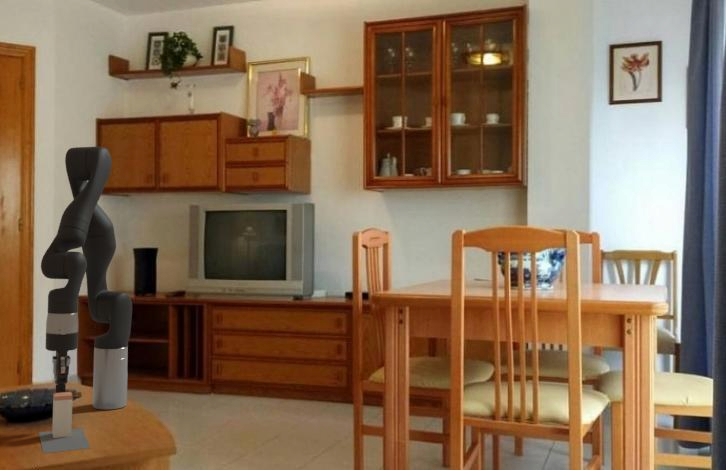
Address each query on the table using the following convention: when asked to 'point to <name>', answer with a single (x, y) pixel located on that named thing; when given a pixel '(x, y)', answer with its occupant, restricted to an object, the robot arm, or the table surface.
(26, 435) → the table surface
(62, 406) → the cream block
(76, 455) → the table surface
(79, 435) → the slate mat
